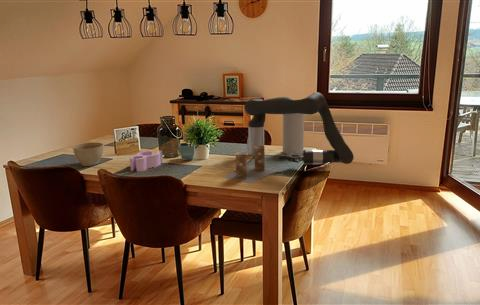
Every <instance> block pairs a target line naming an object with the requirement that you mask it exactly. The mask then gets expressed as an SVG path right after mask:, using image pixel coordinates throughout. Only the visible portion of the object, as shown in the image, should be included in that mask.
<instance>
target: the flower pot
mask: <svg viewBox="0 0 480 305" xmlns="http://www.w3.org/2000/svg"><path fill="white" fill-rule="evenodd" d="M187 143H188V142H179V144H178V147H179V148H178V149H179V154H180V157H181V159H182V161H189V160H190V161H192V160H193V158H194V156H195V151H194V147H195V148H196V146H195V145H196V144H195V145H193V146H188V144H187Z"/></svg>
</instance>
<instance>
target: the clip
mask: <svg viewBox="0 0 480 305" xmlns="http://www.w3.org/2000/svg"><path fill="white" fill-rule="evenodd" d="M161 164H163V152H162V150H157V151H155V154H154V153H153V149H150V150H144V151H143V150H142V151H139V152H137V153H136V154H135V155H133V156H130V157H129V165H130V171H131V172H134V170H136V173H137V172H145V171H146V170H148V169H153V168H152V167H154V168H157V166H158V167H160V166H161ZM159 165H160V166H159Z"/></svg>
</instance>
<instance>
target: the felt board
mask: <svg viewBox="0 0 480 305" xmlns="http://www.w3.org/2000/svg"><path fill="white" fill-rule="evenodd" d="M277 171H279V169H276V168H275V169H274V168H271V167H270V168H269V167H265V171H255V164H254V165H253V164H251V165H247V179H236V171H234V172H231V173H229V174H227V175H223V178H226V179H229V180H233V181H234V180H236V181H240V182H245V183H249V184H252V183H254V182H256V181H258V180H261V179H263V178H265V177H267V176H269V175H271V174H273V173H276V172H277Z"/></svg>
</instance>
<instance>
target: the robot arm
mask: <svg viewBox="0 0 480 305" xmlns="http://www.w3.org/2000/svg"><path fill="white" fill-rule="evenodd" d="M244 111H245V112H246V114H248V115H249V116H252V119H250V120H249V121H248V124H247V125H248V138H247V139H246V140H247V143H246V146H247V147H246V148H247V151H246V155H249V156H251V157H255V146H264V147H265V122H266V114H267V115H283V114H294V113H299V114H304V115H315V114H317V113H318V114H319V115H320V117H321V118H320V119H321V120H322V125H323V131H324V135H325V138H326V140H327V141H328V144H329V145H330V146H331V147H332V149H303V153H296V152H292V153H288V154H279V155H278V160H279V161H285V160H286V161H288V162H291V163H297V164H298V163H300V162H303V164H304V165H323V164H324V165H325V163H327V162H330V163H329V164H333V163H341V164H342V163H343V164H345V165H349V164H351V163H352V162H353V160H354V157H355V156H354V153H353V152H352V150H351V148H350V147H349V146H348V144H347V143H346V141H345V140H344V138H343V135H342V134H341V132H340V130H339V128H338V127H337V125H336V123H335V121H334V118H333V115H332V112H331V110H330V107H329V105H328V102H327V100H326V98H325V96H324V95H323V93H321V92H317V91H316V92H313V93H312V94H310V95H308V96H306V97H304V98H301V99H293V98H291V97H288V96H281V97H272V98H268V99H262V98H253V99H249V100H246V102H245V104H244Z"/></svg>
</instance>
